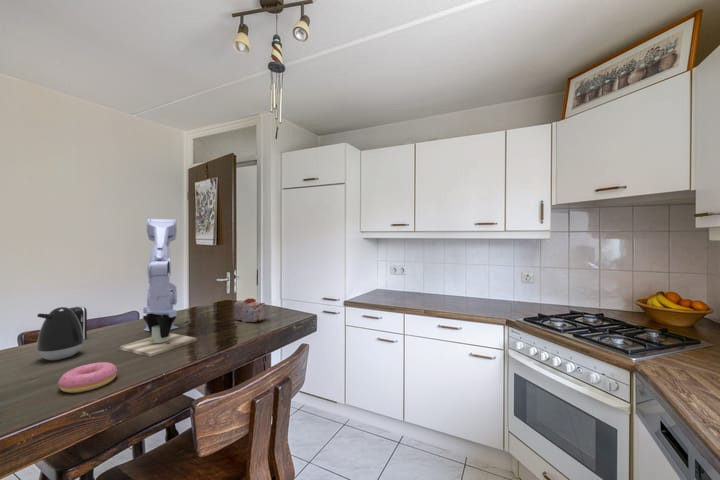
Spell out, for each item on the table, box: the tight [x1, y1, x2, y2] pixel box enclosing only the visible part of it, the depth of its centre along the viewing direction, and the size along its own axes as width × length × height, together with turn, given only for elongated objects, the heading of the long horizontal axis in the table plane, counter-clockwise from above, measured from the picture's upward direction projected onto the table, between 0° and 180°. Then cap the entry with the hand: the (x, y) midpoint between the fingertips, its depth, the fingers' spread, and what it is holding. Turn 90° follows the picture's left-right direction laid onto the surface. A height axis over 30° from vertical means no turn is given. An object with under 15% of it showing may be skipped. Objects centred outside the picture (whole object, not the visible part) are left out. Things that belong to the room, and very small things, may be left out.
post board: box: [118, 332, 198, 358], centre depth 103 cm, size 16×16×4 cm
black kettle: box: [36, 306, 85, 361], centre depth 92 cm, size 10×10×15 cm
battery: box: [68, 306, 88, 340], centre depth 109 cm, size 7×4×11 cm, turn 61°
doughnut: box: [58, 361, 119, 394], centre depth 75 cm, size 11×11×4 cm
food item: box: [233, 297, 266, 323], centre depth 134 cm, size 14×8×10 cm, turn 67°
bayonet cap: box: [149, 325, 170, 343], centre depth 103 cm, size 5×6×5 cm
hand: (159, 336), depth 103 cm, fingers closed on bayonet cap, 5 cm apart
